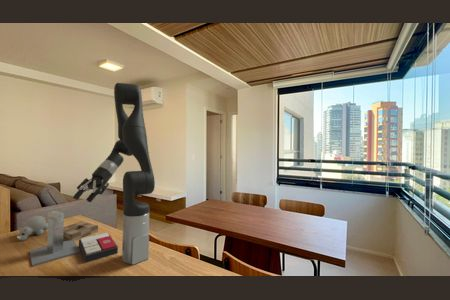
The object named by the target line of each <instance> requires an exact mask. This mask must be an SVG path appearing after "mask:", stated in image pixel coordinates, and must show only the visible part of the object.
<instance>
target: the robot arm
mask: <svg viewBox="0 0 450 300" xmlns="http://www.w3.org/2000/svg"><path fill="white" fill-rule="evenodd" d="M113 95H114V97H113V98H114V104H115V112H116V118H117V137H118V140H116V142H115V143H114V146H113V148H112V150H111V151H110V153H109V155H108V156H107V158H106V159H104V161H102V162H101V163H100V164H99V166H98V167H97V168H96V169H95V170H94V172H92V174H91V178H90V179H88V178H85V179H84V180H82V181H81V182H80V183H79V185H78V186H77V187H76V190H78V191H76V192H75V194H74V195H73V196H72V199H74V200H76V201H77V200H79V199H80V197H81V196H82V195H83V194H84V193H85V192H89V191H91V190H92V192H91V193H90V194H89V195H88V197H86V199H85V200H86V202H88V203H92V201H93V200H94V199H95V198H96V197H97V196H99V195H103V194H104V192H105V191H106V189H107V188H108V187H109V186H110V184H109V181H110V180H111V178H112V177H113V176H114V175H115V173H116V172H117V170H118V169H119V167H120V166H121V165H122V163H124V157H123V156H122V155H124V156H128V157H131V156H133V158H135V160H136V161H137V163H138V164H139V167H140V170H132V171H131V170H130V171H125V172H124V175H123V177H122V192H123V193H122V197H123V200H122V207H123V209H122V249H121V251H122V255H121V260H122V262H123V263H125V264H130V265H131V266H132V265H136V264H138V263H141V262H144V261H147V260H149V257H150V256H149V253H150V252H149V251H150V250H149V249H150V205H149V204H148V203H147V202H143V201H138V200H136V199H135V196H143V195H149V194H152V193H153V192H154V191H155V188H156V187H155V184H156V182H155V174H154V171H153V167H152V164H151V158H150V152H149V145H148V136H147V129H146V124H145V119H144V112H143V111H144V110H143V97H142V96H143V95H142V90H141V87H140V86H139V85H138V84H134V83H123V82H117V83H115V85H114V89H113ZM123 105H130V106H132V105H133V110H132V112H131V113H130V114H129V116H128V114H127V113H126V111H125V110H124V106H123ZM121 154H122V155H121Z"/></svg>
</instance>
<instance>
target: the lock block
mask: <svg viewBox="0 0 450 300" xmlns="http://www.w3.org/2000/svg"><path fill="white" fill-rule="evenodd" d="M97 232H99V225H98V224H94V223H91V222H87V221H86V222H85V221H79V222H75V223H72V224H69V225H66V226H64V235H63V240H65V241H68V240H74V242H76V241H78V240H80V239H82V238H86V237H87V236H88V237H89V236H90V235H92V234H95V233H97Z"/></svg>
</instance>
